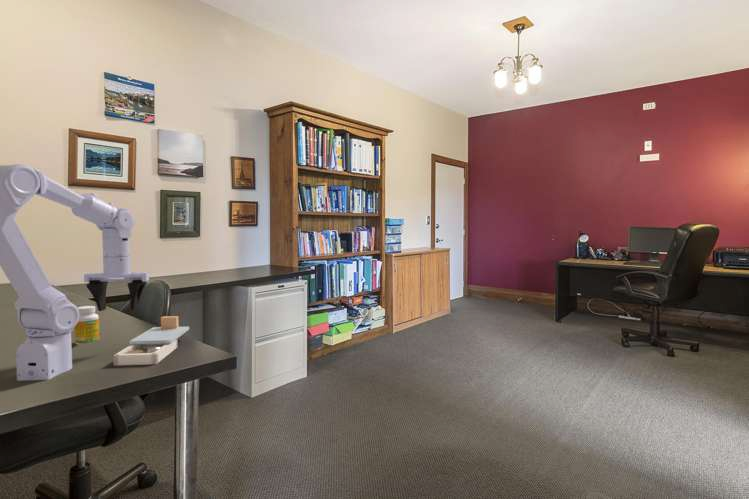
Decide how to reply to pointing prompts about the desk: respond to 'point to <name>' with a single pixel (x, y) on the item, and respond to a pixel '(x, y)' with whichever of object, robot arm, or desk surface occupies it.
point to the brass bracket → (134, 352)
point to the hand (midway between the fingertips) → (118, 309)
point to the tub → (144, 354)
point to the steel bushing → (153, 349)
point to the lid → (161, 332)
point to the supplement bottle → (87, 325)
